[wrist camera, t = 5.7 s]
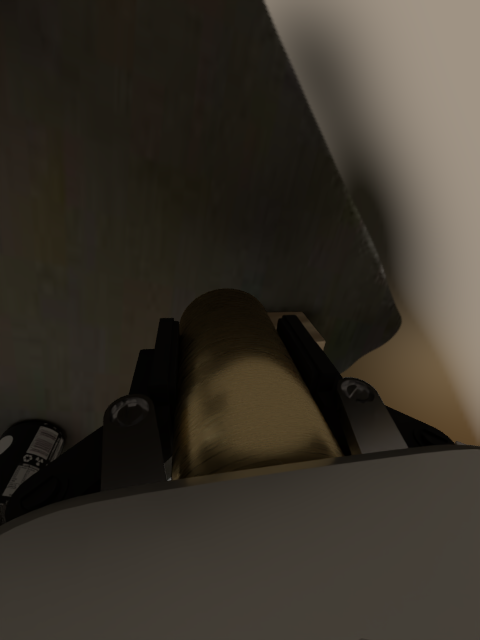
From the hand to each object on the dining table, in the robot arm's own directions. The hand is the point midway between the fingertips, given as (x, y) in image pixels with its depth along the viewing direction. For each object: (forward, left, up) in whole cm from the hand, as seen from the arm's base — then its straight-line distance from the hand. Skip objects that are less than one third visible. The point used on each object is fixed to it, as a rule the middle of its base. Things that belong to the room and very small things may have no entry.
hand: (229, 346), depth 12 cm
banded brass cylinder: (0, 0, -1) cm, 1 cm away
